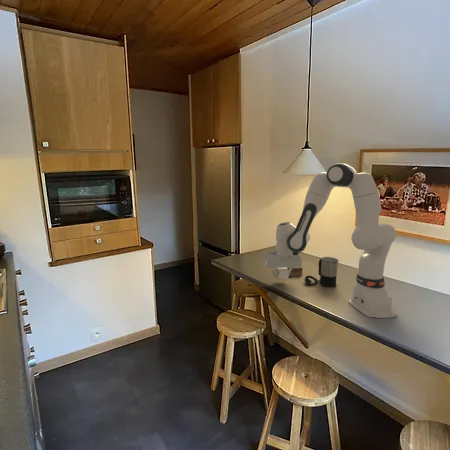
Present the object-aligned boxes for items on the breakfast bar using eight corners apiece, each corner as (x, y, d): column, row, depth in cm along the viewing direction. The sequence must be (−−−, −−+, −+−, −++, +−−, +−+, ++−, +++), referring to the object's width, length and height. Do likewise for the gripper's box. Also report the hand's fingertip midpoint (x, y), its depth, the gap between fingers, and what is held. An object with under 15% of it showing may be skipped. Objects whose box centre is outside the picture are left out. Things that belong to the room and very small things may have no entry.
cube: (288, 278, 176) (288, 270, 176) (279, 279, 176) (279, 270, 175) (286, 275, 181) (286, 267, 180) (277, 275, 181) (277, 267, 180)
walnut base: (302, 275, 190) (302, 267, 189) (282, 276, 189) (282, 268, 188) (296, 268, 201) (297, 261, 200) (278, 269, 201) (278, 261, 200)
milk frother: (340, 285, 175) (342, 260, 172) (319, 291, 167) (321, 265, 164) (320, 277, 187) (322, 253, 184) (300, 282, 179) (302, 257, 176)
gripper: (266, 253, 172) (265, 277, 175) (303, 252, 173) (302, 276, 176) (264, 250, 178) (263, 273, 181) (299, 249, 179) (299, 272, 182)
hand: (283, 274), depth 179 cm, fingers closed on cube, 5 cm apart
